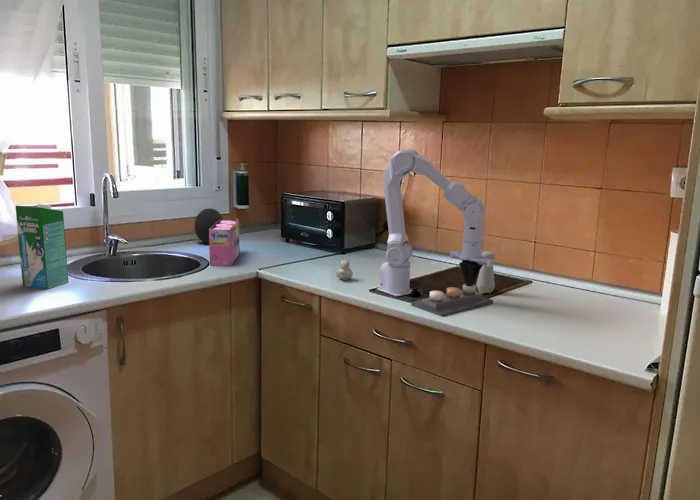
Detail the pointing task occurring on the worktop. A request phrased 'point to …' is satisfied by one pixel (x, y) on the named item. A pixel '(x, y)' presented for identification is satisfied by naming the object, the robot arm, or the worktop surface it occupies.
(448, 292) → the terracotta knob
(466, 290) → the sage knob
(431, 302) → the switch panel
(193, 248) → the worktop surface
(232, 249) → the gum box
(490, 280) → the salt shaker
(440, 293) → the cream knob
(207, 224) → the decorative egg
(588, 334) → the worktop surface
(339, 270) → the beige lumpy figurine
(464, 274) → the robot arm
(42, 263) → the milk carton
